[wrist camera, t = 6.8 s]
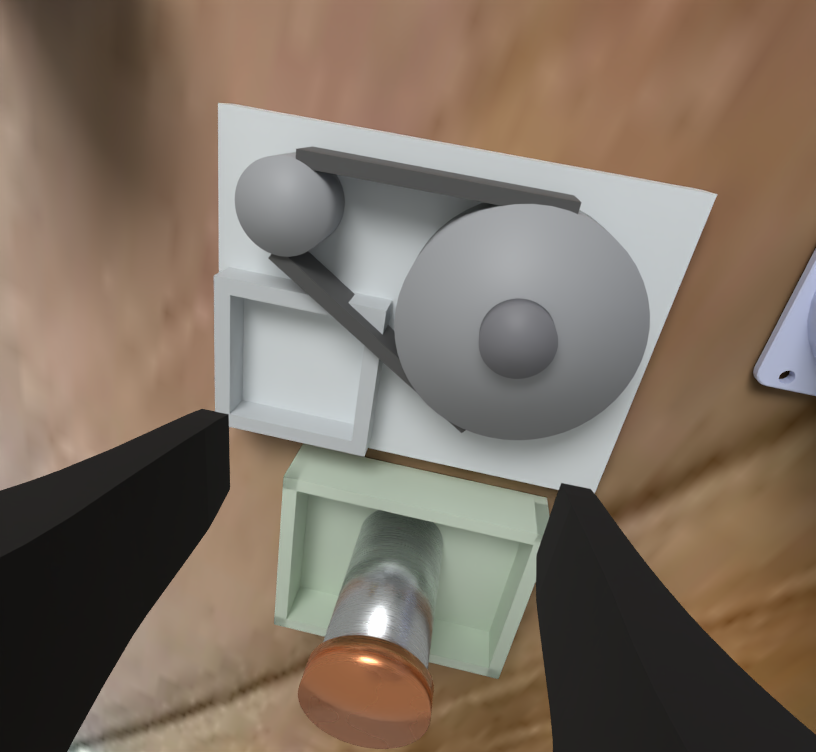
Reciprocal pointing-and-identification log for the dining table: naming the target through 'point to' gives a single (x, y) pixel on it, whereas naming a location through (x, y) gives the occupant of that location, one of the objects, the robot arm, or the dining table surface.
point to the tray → (461, 558)
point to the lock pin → (379, 638)
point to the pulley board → (380, 268)
